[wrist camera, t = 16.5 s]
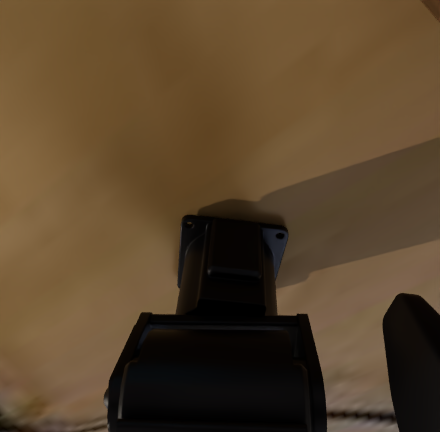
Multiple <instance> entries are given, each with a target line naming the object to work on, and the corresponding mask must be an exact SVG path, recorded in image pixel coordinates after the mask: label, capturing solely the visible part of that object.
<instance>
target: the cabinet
mask: <svg viewBox="0 0 440 432" xmlns="http://www.w3.org/2000/svg"><path fill="white" fill-rule="evenodd" d="M421 2H422V3H423V4H424V5H425V6H426V7H427V8H428V10H429V11H430V12H431V13H432V14H433V15H434V17H435V18H436V19H437V20H438V21H439V22H440V0H421Z"/></svg>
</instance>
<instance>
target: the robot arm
mask: <svg viewBox="0 0 440 432" xmlns="http://www.w3.org/2000/svg"><path fill="white" fill-rule="evenodd" d="M187 222H191V223H192V224H188V223H187ZM278 233H283V234H281V235H278ZM287 239H288V230H287V228H286V227H285V226H282V225H274V224H265V223H257V222H248V221H239V220H231V219H222V218H214V217H205V216H197V215H186V216H184V217H183V218H182V222H181V233H180V250H179V267H178V284H177V285H178V287H179V288H180V291H179V297H178V303H177V309H176V314H152V313H150V312H142V313H141V314H140V317H139V319H138V321H137V323H136V325H134V327H133V329H132V332H131V334H130V336H129V338H128V340H127V342H126V345H125V347H124V349H123V351H122V353H121V355H120V357H119V360H118V362H117V364H116V366H115V368H114V370H113V373H112V375H111V377H110V380H109V387H108V389H107V390H106V392H105V394H104V404H105V406H106V407H107V409H108V415H107V418H108V431H109V432H327V414H326V399H325V390H324V383H323V376H322V371H321V367H320V363H319V359H318V355H317V350H316V346H315V342H314V338H313V334H312V330H311V326H310V322H309V318H308V314H297V316H285V315H277V300H276V286H275V280H276V277H277V274H278V270H279V267H280V263H281V260H282V256H283V253H284V250H285V246H286V243H287ZM383 335H384V343H385V351H386V359H387V367H388V376H389V384H390V390H391V397H392V402H393V406H394V411H395V415H396V419H397V424H398V428H399V432H440V315H439V314H438V313H437V312H436V311H435V310H434V309H433V308H432V307H431V306H430V305H429V304H428V303H427V302H426V301H425V300H424V299H423V298H422V297H421V296H419V295H415V294H406V293H400V294H398V295H397V296H396V297H395V299H394V300H393V302H392V304H391V305H390V307H389V309H388V310H387V312H386V314H385V315H384V318H383Z"/></svg>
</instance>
